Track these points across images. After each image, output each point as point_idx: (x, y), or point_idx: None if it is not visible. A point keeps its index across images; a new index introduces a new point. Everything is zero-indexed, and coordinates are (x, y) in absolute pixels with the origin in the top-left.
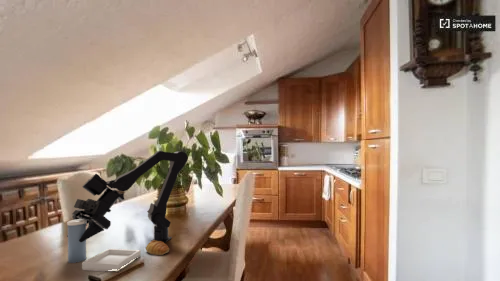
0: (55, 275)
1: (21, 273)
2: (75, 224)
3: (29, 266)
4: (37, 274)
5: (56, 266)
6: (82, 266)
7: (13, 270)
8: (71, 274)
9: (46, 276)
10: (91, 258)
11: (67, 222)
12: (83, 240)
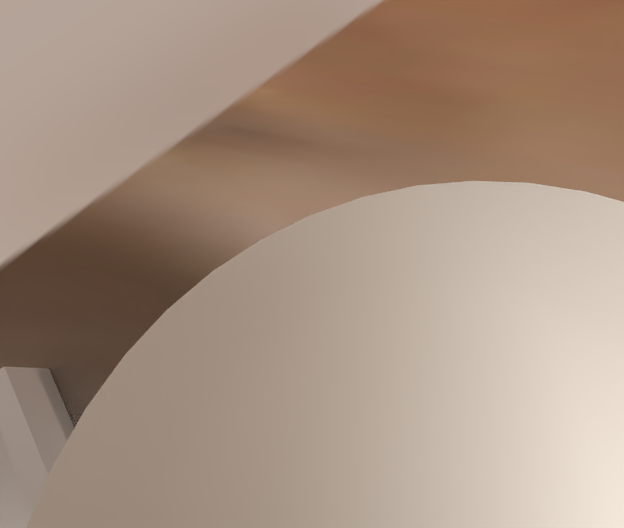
0: (130, 194)
1: (386, 50)
2: (116, 426)
3: (507, 110)
4: (267, 116)
5: None
6: (26, 370)
7: (501, 25)
8: (38, 279)
9: (169, 148)
10: (28, 482)
11: (548, 199)
12: None
